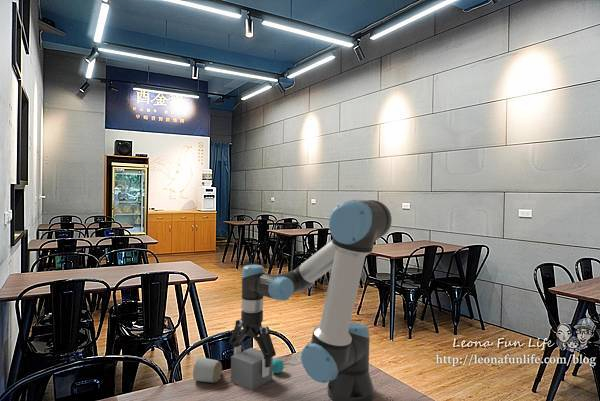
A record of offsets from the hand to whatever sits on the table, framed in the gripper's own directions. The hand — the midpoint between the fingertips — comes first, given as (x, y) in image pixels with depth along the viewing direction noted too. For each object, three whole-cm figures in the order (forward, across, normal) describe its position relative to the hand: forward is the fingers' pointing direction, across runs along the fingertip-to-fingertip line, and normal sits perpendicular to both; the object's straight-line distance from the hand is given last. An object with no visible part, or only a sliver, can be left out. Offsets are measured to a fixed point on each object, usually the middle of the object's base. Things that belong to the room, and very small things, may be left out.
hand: (251, 370), depth 139 cm
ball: (+1, -3, -10) cm, 11 cm away
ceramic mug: (+4, +12, +8) cm, 15 cm away
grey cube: (+4, 0, 0) cm, 4 cm away
